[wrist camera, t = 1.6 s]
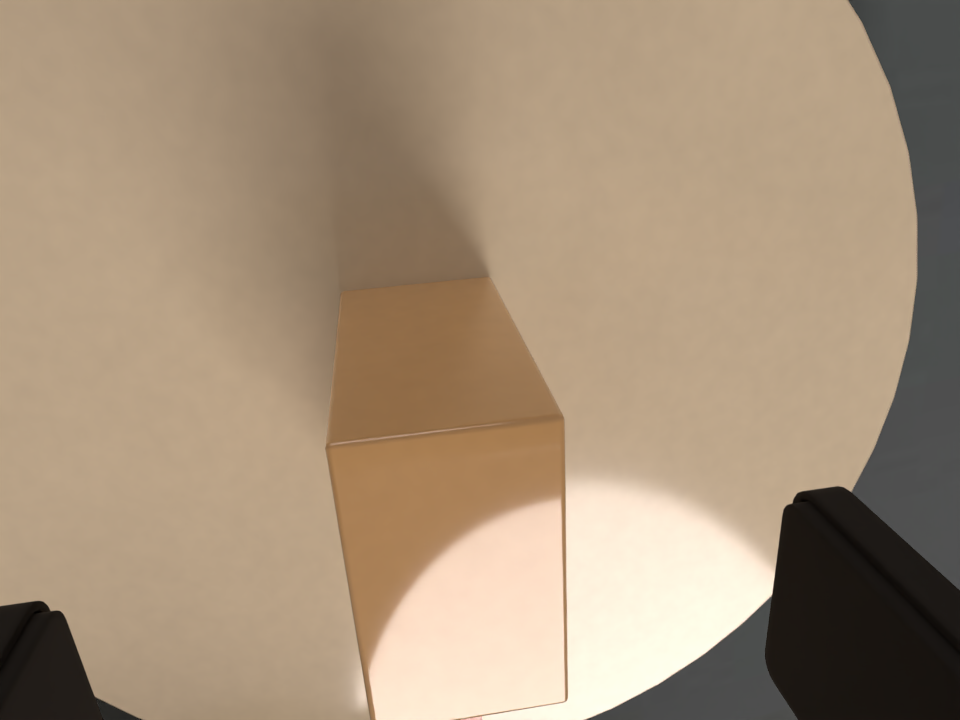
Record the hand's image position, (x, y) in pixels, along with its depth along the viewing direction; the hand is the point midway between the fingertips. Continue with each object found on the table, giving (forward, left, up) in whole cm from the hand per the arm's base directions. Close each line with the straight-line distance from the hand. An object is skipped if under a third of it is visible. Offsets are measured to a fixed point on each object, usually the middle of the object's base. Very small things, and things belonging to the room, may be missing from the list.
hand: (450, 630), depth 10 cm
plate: (0, 0, -7) cm, 8 cm away
